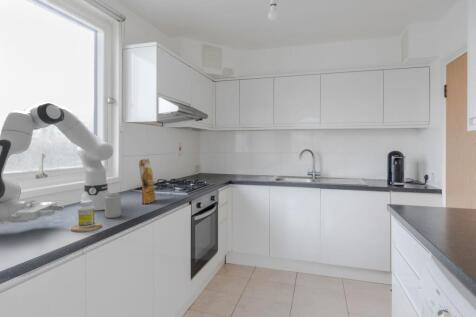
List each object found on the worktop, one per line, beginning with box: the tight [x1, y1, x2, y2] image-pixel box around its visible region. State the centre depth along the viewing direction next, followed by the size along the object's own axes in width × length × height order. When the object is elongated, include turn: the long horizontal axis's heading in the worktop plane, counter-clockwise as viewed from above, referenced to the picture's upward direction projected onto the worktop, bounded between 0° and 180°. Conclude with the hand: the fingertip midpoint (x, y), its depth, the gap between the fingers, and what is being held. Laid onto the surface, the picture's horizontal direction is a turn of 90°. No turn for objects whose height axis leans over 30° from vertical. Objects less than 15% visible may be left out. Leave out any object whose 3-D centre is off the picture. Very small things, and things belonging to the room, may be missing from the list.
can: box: [104, 192, 122, 219], centre depth 141 cm, size 8×8×12 cm
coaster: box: [70, 222, 103, 233], centre depth 122 cm, size 12×12×1 cm
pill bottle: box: [77, 200, 96, 228], centre depth 121 cm, size 6×6×11 cm
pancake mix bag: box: [138, 158, 157, 204], centre depth 179 cm, size 7×19×28 cm, turn 174°
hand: (58, 210), depth 119 cm, fingers open, 8 cm apart
